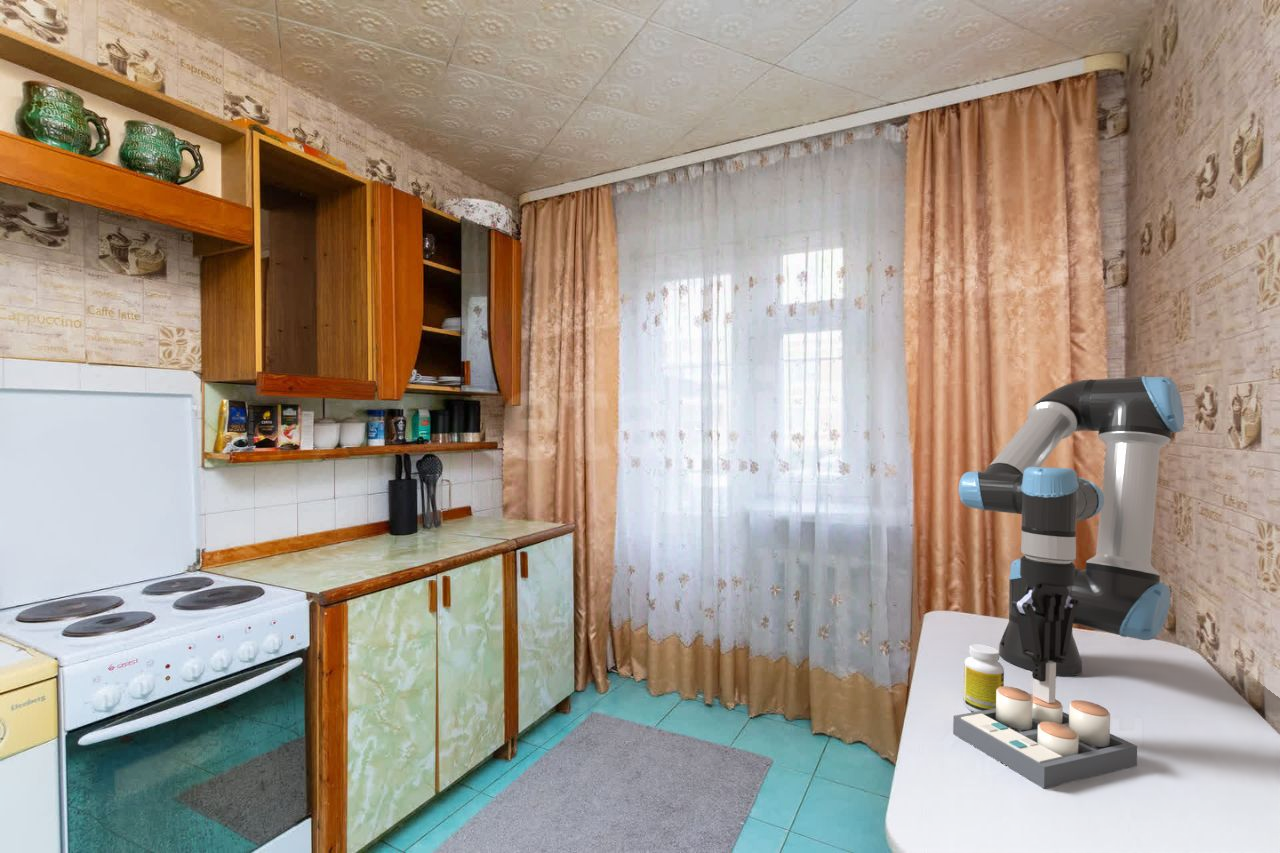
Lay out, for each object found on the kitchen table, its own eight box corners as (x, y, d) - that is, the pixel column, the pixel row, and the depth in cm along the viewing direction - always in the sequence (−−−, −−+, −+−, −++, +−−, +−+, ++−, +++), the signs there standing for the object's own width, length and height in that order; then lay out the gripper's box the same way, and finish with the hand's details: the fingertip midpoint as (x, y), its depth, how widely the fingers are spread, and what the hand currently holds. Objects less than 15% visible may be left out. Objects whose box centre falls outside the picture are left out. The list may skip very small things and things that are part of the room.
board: (1038, 717, 100) (1039, 698, 100) (1136, 765, 86) (1137, 743, 86) (953, 733, 93) (953, 713, 93) (1044, 788, 79) (1044, 764, 79)
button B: (1082, 727, 91) (1083, 697, 91) (1117, 743, 86) (1118, 712, 87) (1061, 732, 90) (1061, 701, 90) (1095, 748, 85) (1096, 716, 85)
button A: (1039, 719, 98) (1039, 691, 98) (1069, 734, 93) (1070, 705, 93) (1018, 723, 96) (1019, 695, 96) (1048, 738, 91) (1048, 709, 92)
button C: (1010, 712, 96) (1010, 684, 96) (1039, 727, 91) (1040, 697, 91) (988, 716, 94) (989, 687, 94) (1017, 731, 89) (1018, 701, 89)
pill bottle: (1009, 720, 99) (1010, 657, 99) (970, 715, 100) (972, 653, 100) (994, 703, 105) (996, 644, 105) (958, 699, 106) (959, 640, 106)
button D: (1051, 749, 89) (1052, 719, 89) (1086, 767, 84) (1086, 735, 84) (1029, 754, 87) (1030, 723, 87) (1062, 773, 83) (1063, 740, 83)
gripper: (1051, 552, 101) (1048, 685, 100) (998, 555, 96) (994, 693, 96) (1097, 562, 94) (1094, 704, 93) (1042, 565, 89) (1038, 714, 89)
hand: (1043, 698), depth 95 cm, fingers closed
